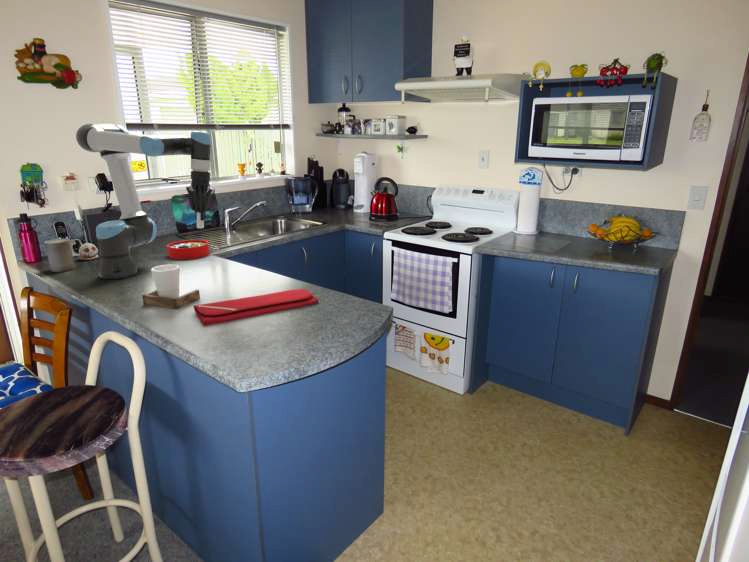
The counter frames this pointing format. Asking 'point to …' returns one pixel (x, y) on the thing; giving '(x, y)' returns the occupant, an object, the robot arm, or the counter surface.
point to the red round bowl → (188, 249)
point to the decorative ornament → (88, 250)
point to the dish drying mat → (253, 306)
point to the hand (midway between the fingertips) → (200, 228)
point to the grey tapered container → (59, 255)
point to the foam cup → (166, 280)
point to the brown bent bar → (170, 299)
